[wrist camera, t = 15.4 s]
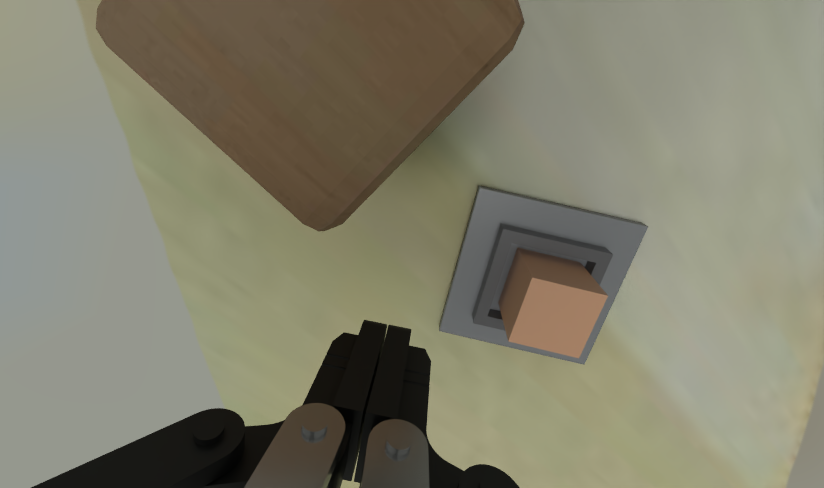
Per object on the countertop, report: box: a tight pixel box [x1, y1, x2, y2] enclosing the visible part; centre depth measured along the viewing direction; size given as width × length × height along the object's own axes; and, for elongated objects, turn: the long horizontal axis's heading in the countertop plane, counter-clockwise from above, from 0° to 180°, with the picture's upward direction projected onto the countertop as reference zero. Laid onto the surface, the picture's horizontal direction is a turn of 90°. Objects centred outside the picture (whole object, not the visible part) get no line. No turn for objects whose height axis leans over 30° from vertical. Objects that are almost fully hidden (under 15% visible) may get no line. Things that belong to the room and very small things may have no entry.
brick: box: [498, 247, 608, 358], centre depth 31 cm, size 6×6×6 cm
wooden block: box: [96, 0, 524, 231], centre depth 20 cm, size 10×10×20 cm
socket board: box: [439, 185, 648, 364], centre depth 33 cm, size 14×14×2 cm
